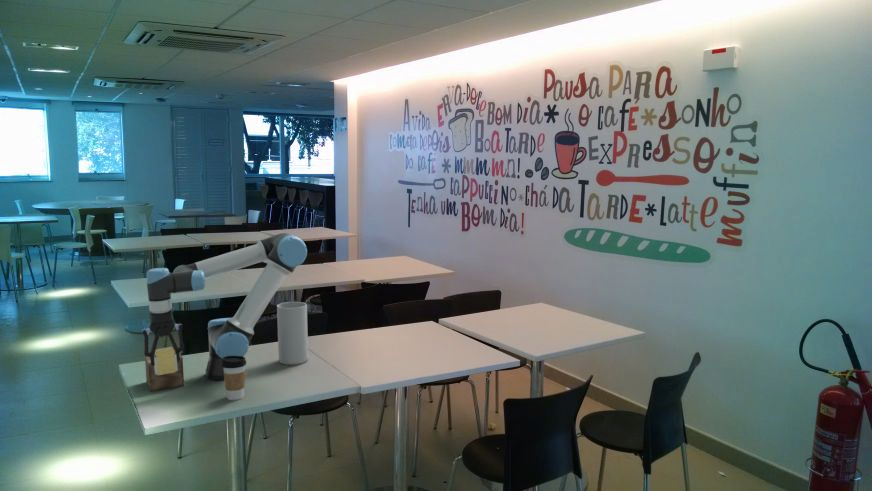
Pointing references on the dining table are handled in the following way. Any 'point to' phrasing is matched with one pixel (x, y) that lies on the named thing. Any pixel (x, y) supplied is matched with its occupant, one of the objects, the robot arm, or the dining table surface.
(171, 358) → the rectangular block
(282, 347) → the cylinder vase
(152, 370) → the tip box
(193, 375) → the dining table surface
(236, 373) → the coffee cup
